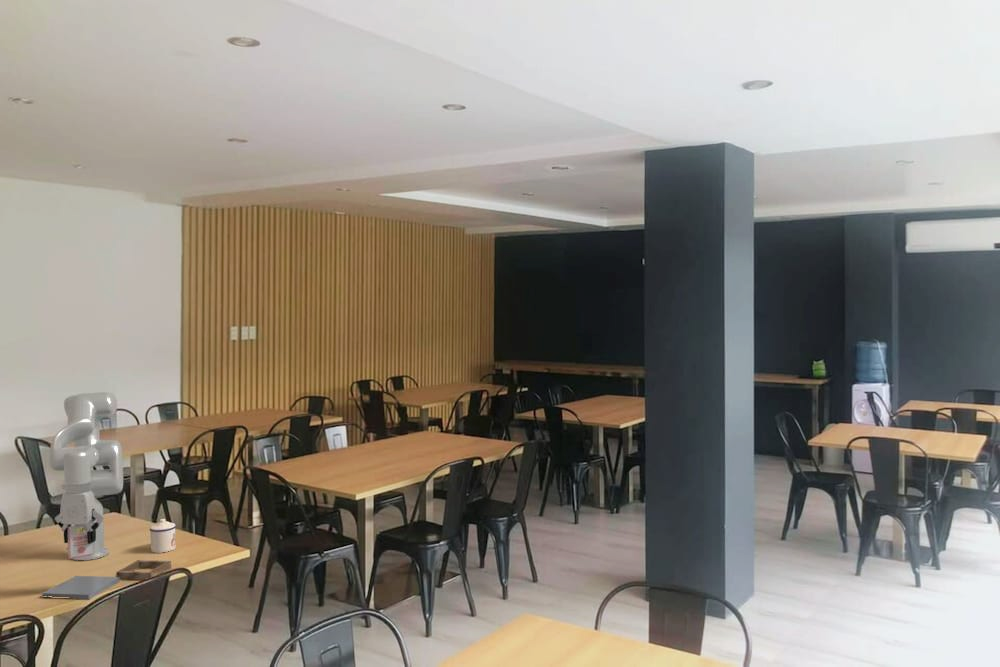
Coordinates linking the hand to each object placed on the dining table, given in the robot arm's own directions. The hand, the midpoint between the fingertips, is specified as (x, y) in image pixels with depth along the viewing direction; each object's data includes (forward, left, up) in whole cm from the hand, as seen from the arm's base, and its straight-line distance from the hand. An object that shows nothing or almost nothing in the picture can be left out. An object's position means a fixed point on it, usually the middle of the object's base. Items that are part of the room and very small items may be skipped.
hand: (80, 541), depth 256 cm
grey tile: (0, 0, -16) cm, 16 cm away
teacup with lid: (+3, +43, -16) cm, 46 cm away
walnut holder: (+12, +16, -16) cm, 25 cm away
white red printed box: (0, 0, -5) cm, 5 cm away
